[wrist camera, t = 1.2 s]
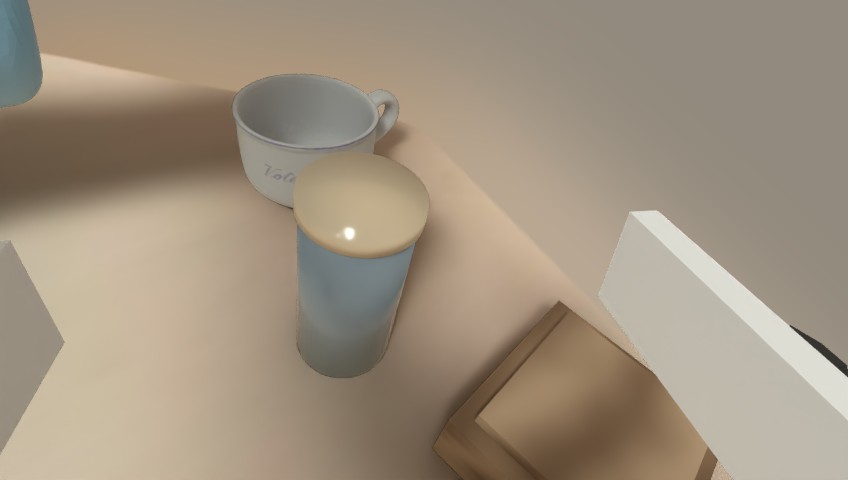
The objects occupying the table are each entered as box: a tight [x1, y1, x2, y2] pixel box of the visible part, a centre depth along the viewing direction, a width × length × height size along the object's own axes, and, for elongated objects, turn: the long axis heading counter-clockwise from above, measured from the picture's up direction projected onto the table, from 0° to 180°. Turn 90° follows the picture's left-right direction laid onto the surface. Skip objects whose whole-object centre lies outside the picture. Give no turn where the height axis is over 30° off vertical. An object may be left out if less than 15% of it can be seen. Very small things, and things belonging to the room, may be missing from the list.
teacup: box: [232, 74, 399, 208], centre depth 38 cm, size 14×11×8 cm
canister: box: [293, 152, 430, 378], centre depth 26 cm, size 6×6×13 cm
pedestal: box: [432, 301, 718, 480], centre depth 27 cm, size 12×12×5 cm
